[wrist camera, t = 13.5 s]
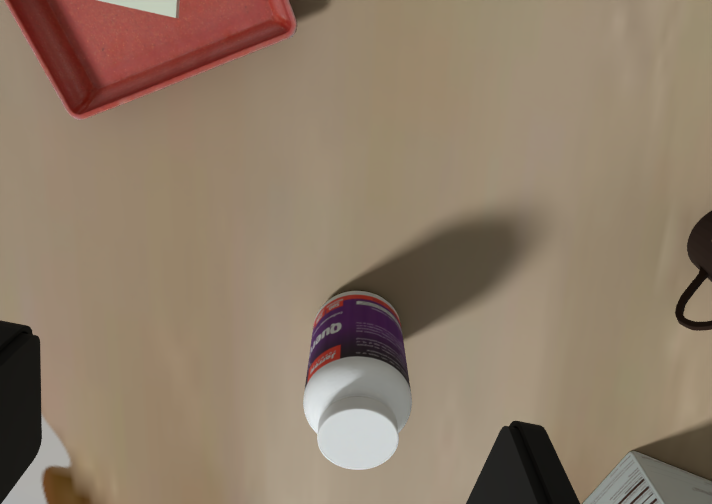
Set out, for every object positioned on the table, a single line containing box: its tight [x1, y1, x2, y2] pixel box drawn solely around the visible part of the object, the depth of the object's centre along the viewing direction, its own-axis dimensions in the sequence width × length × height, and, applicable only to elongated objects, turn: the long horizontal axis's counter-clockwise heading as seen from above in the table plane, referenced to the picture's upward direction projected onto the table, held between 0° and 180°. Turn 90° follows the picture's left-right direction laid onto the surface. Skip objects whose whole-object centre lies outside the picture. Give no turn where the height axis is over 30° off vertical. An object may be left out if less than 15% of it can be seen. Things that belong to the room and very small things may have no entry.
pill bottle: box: [303, 291, 412, 470], centre depth 40 cm, size 8×8×14 cm
